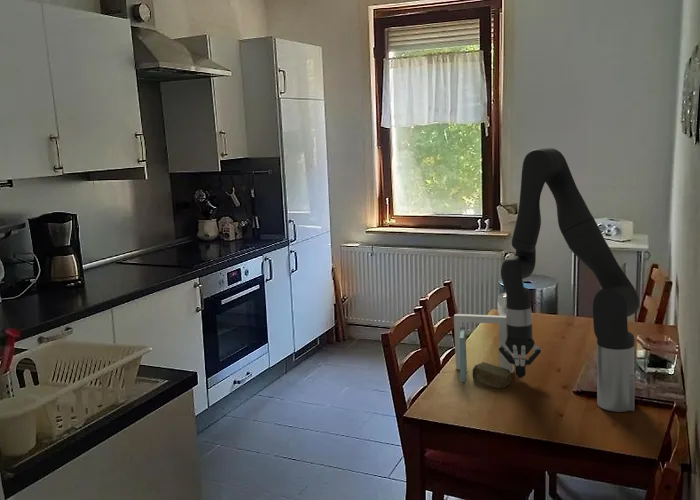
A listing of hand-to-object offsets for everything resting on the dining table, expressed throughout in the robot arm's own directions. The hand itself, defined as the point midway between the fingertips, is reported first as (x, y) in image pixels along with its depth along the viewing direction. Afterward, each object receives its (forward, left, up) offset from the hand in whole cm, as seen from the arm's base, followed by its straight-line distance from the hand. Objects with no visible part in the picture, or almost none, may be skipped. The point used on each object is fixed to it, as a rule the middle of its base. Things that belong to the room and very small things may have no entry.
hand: (520, 376), depth 196 cm
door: (+18, -1, -1) cm, 18 cm away
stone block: (+8, +3, -2) cm, 9 cm away
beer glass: (+11, -48, -2) cm, 50 cm away
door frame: (+13, -7, -1) cm, 15 cm away
